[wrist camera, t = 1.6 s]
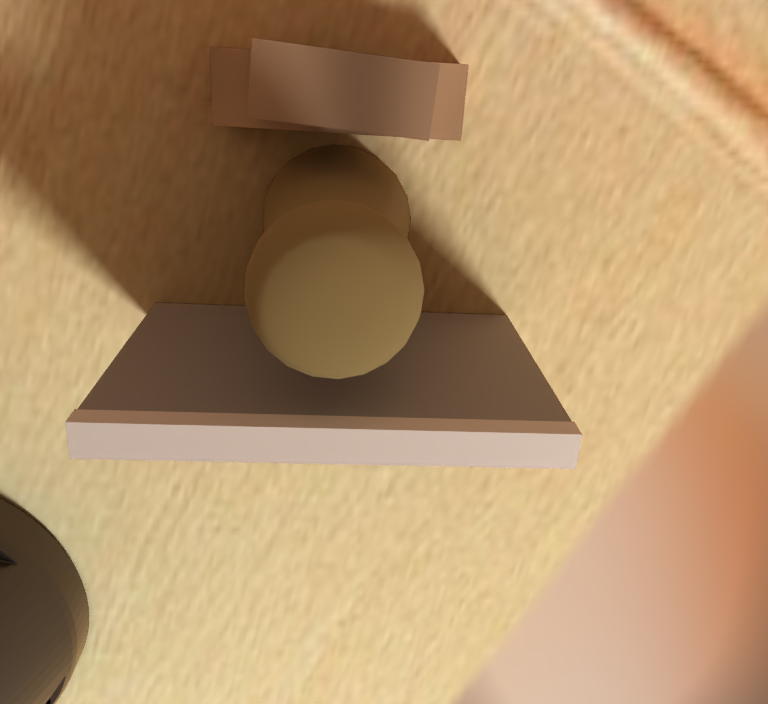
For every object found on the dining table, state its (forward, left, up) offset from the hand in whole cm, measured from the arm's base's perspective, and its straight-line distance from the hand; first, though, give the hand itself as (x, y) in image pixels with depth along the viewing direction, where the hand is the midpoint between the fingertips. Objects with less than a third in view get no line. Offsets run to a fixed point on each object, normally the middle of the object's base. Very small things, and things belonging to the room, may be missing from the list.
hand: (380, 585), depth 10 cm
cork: (-1, +1, -22) cm, 22 cm away
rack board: (-2, -4, -21) cm, 22 cm away
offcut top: (0, +6, -19) cm, 20 cm away
